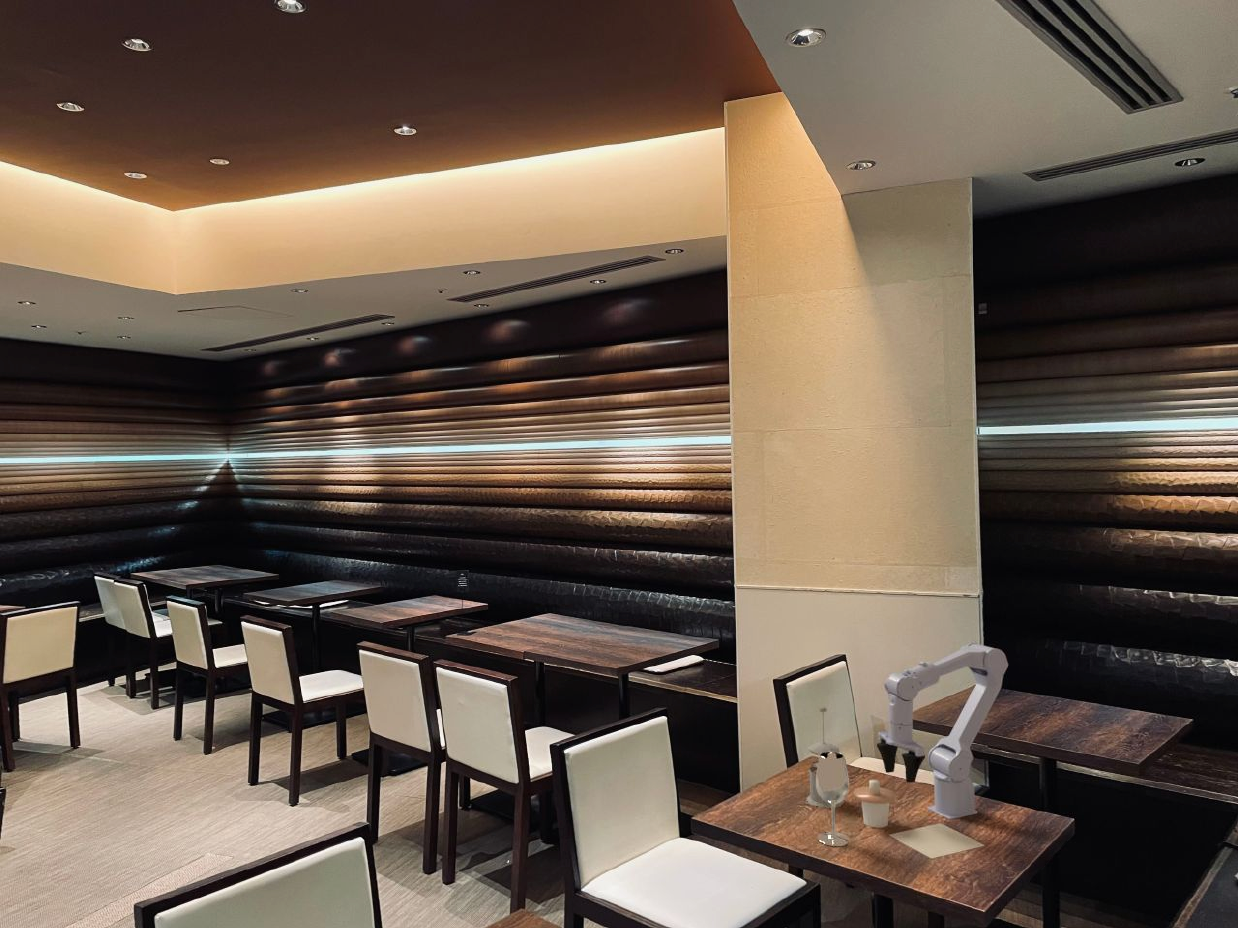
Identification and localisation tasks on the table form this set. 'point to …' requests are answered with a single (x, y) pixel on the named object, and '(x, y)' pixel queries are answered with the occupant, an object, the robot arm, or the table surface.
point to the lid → (874, 793)
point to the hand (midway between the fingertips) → (900, 776)
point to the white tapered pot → (875, 814)
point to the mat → (936, 840)
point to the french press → (817, 750)
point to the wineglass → (832, 791)
